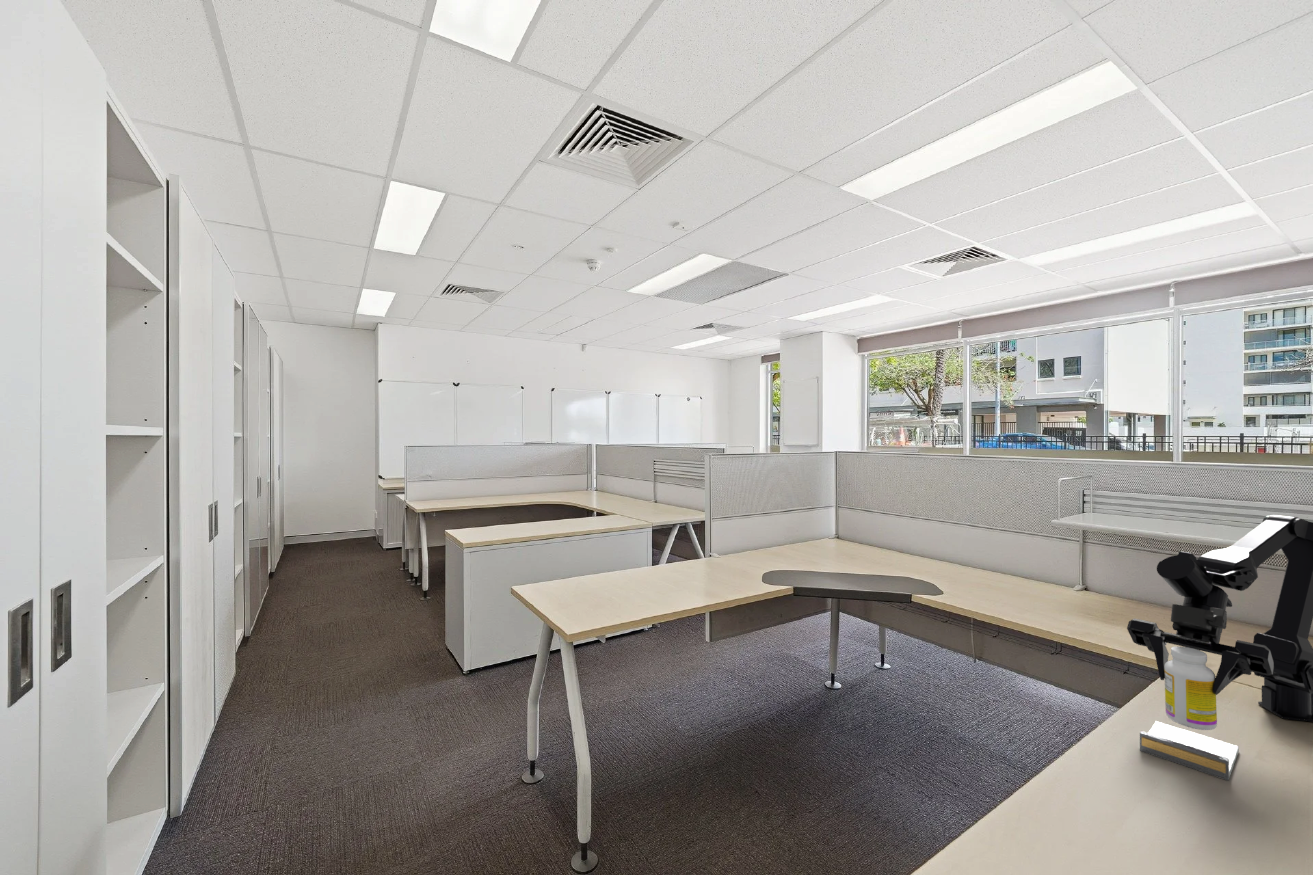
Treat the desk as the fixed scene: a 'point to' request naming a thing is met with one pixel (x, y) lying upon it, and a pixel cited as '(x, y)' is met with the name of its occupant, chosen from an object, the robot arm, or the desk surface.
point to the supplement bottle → (1190, 689)
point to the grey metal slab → (1190, 749)
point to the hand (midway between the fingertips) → (1187, 685)
